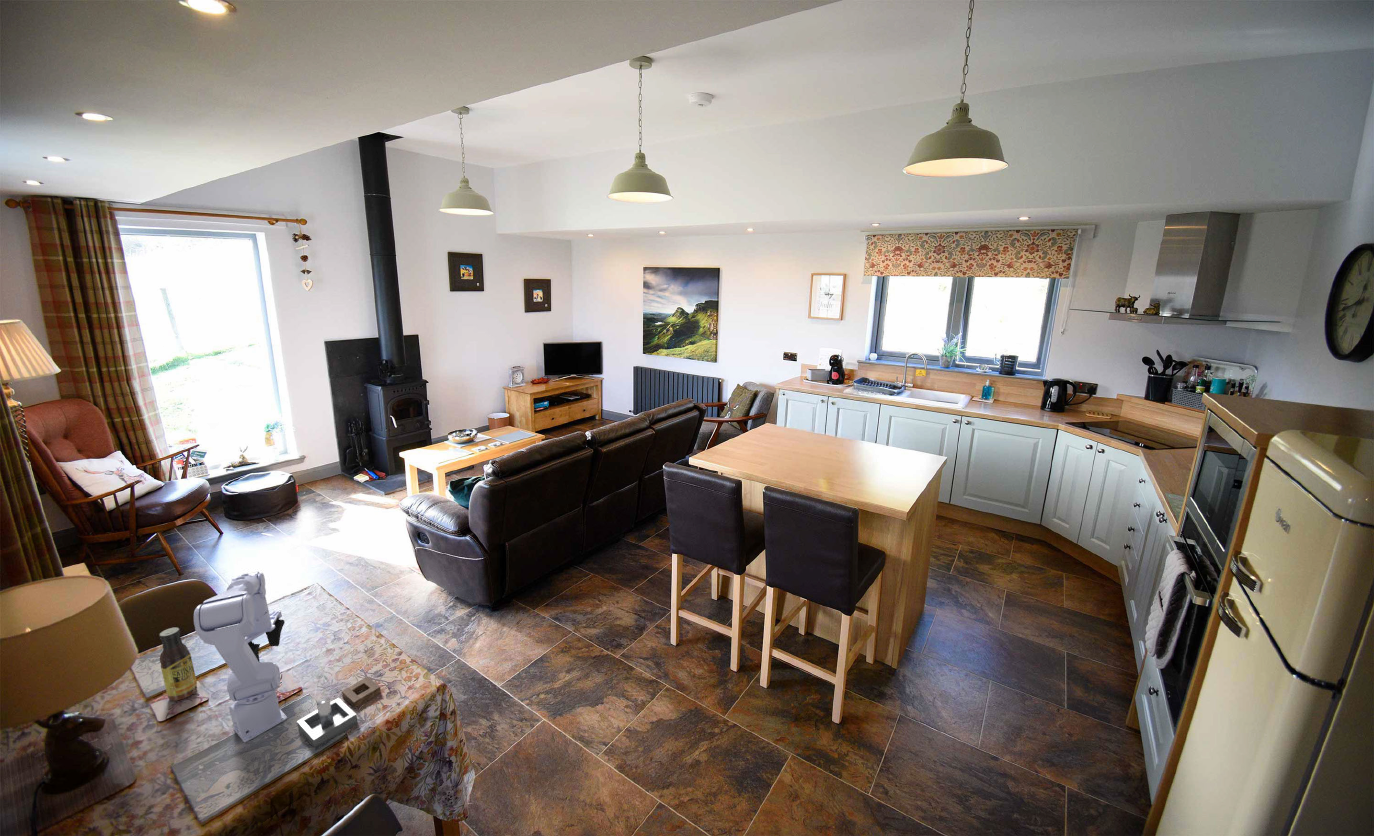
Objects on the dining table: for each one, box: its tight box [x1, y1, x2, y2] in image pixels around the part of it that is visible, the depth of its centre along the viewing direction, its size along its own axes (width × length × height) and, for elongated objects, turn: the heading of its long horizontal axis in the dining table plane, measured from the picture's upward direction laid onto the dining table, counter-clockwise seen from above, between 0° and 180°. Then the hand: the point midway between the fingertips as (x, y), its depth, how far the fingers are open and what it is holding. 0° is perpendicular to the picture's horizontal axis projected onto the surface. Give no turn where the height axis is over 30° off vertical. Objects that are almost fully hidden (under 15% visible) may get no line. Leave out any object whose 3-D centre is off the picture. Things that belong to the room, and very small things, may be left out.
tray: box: [296, 697, 359, 751], centre depth 142 cm, size 10×10×3 cm
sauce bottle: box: [159, 627, 198, 702], centre depth 150 cm, size 7×6×20 cm
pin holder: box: [341, 676, 382, 709], centre depth 152 cm, size 7×7×2 cm
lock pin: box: [316, 697, 334, 729], centre depth 141 cm, size 3×3×7 cm
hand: (265, 654), depth 153 cm, fingers open, 7 cm apart
